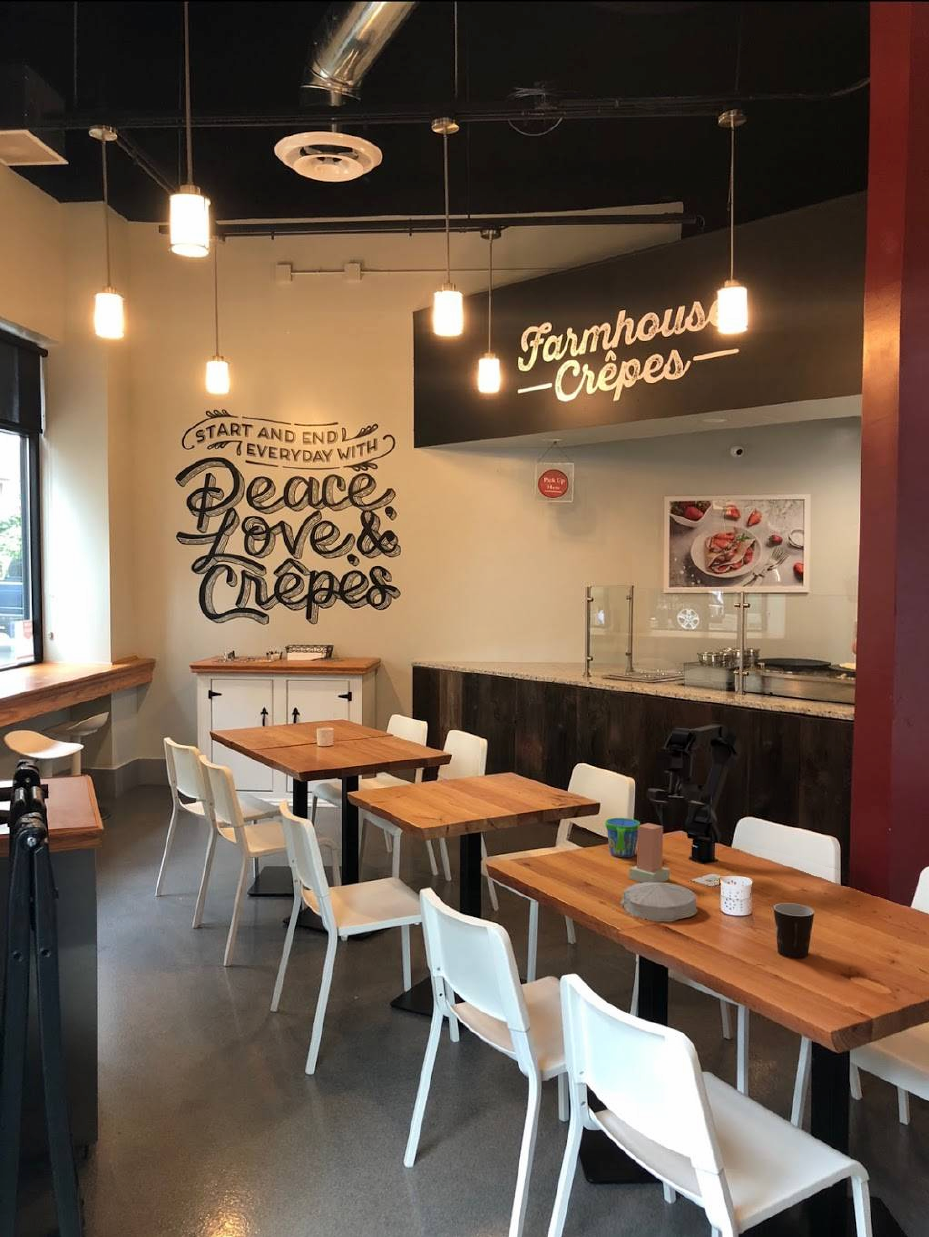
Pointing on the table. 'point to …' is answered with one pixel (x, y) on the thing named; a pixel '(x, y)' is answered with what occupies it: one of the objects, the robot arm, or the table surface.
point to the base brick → (649, 875)
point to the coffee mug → (793, 929)
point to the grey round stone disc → (659, 901)
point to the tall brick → (649, 847)
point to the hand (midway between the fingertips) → (676, 826)
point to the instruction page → (708, 880)
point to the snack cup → (622, 836)
